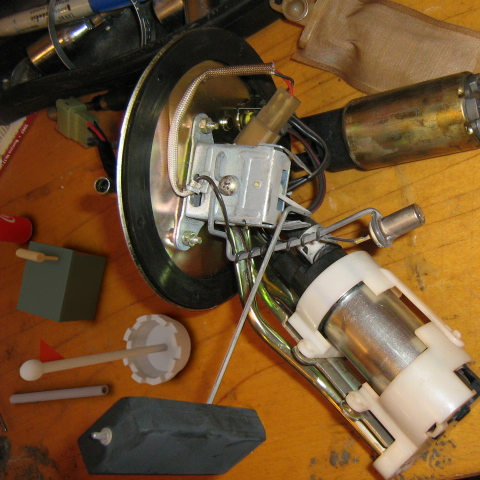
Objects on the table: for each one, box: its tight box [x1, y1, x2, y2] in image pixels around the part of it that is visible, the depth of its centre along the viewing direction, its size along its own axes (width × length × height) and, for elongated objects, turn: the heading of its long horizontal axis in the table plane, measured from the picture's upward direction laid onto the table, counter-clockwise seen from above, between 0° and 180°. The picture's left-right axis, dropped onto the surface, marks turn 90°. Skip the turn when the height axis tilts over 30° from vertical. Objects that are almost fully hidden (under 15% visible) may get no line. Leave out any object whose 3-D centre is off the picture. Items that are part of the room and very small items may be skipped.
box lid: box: [15, 240, 77, 323], centre depth 92 cm, size 14×13×6 cm
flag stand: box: [19, 313, 192, 386], centre depth 77 cm, size 13×13×30 cm
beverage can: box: [0, 213, 33, 244], centre depth 104 cm, size 6×6×12 cm
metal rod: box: [9, 384, 109, 405], centre depth 99 cm, size 2×27×2 cm, turn 98°
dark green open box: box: [61, 250, 107, 323], centre depth 98 cm, size 14×13×8 cm
